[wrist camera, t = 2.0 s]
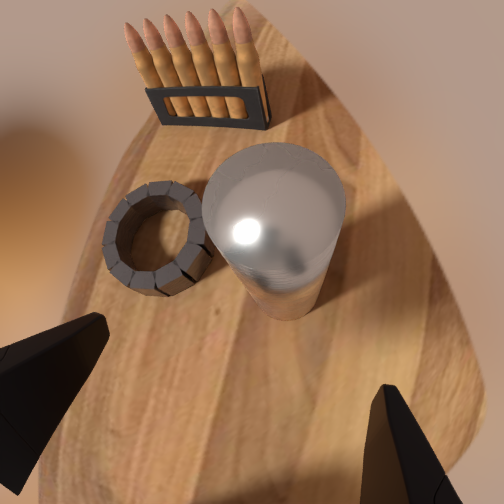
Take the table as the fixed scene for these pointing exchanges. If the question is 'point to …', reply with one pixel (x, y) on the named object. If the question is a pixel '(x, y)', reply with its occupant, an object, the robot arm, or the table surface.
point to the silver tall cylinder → (276, 223)
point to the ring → (128, 222)
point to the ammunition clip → (202, 74)
